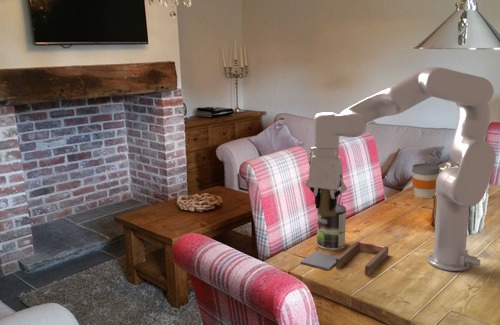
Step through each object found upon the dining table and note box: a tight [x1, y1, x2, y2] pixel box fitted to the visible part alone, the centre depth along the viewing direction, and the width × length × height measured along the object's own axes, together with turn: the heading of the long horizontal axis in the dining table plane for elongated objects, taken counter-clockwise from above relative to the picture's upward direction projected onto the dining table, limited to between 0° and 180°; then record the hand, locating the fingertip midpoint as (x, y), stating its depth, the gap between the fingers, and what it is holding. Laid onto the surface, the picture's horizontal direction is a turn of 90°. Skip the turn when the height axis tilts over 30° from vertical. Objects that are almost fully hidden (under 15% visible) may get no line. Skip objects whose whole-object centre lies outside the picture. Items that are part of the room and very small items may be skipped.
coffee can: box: [316, 203, 347, 251], centre depth 164 cm, size 10×10×14 cm
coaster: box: [300, 251, 338, 271], centre depth 152 cm, size 10×10×1 cm
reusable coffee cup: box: [411, 163, 440, 198], centre depth 221 cm, size 12×13×15 cm
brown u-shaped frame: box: [335, 240, 389, 276], centre depth 151 cm, size 11×18×3 cm, turn 145°
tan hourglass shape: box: [317, 189, 336, 217], centre depth 146 cm, size 6×6×11 cm
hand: (325, 207), depth 146 cm, fingers closed on tan hourglass shape, 4 cm apart
